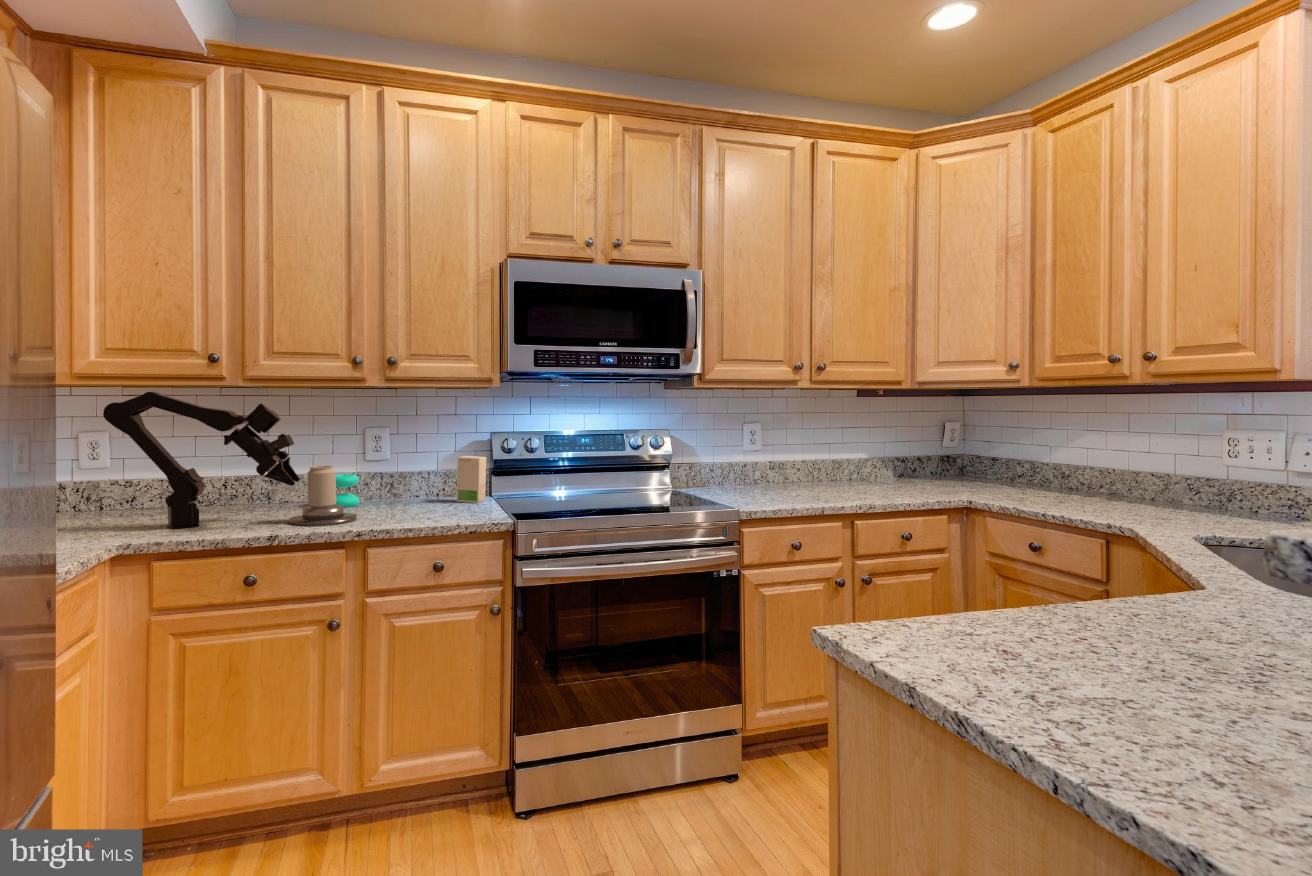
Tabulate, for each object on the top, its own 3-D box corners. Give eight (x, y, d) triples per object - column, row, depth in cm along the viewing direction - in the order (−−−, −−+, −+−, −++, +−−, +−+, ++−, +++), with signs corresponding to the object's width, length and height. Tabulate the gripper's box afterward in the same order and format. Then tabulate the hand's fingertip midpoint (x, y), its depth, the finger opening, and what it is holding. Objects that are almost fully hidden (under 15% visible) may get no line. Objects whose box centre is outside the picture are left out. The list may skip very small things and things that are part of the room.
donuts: (365, 474, 250) (346, 477, 240) (365, 504, 250) (346, 508, 240) (338, 473, 252) (319, 476, 242) (339, 502, 252) (319, 507, 243)
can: (314, 509, 212) (314, 468, 212) (303, 507, 217) (302, 466, 217) (340, 507, 218) (340, 466, 217) (329, 504, 223) (328, 464, 222)
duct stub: (304, 528, 205) (304, 514, 205) (278, 520, 217) (278, 507, 217) (367, 520, 218) (367, 507, 218) (339, 513, 230) (339, 500, 230)
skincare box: (456, 502, 255) (455, 457, 254) (464, 499, 261) (463, 455, 260) (479, 503, 254) (479, 457, 253) (486, 500, 260) (486, 456, 259)
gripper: (268, 426, 203) (313, 466, 207) (280, 423, 221) (321, 459, 225) (236, 455, 202) (282, 494, 206) (251, 450, 219) (293, 486, 223)
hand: (296, 482), depth 215 cm, fingers open, 9 cm apart
